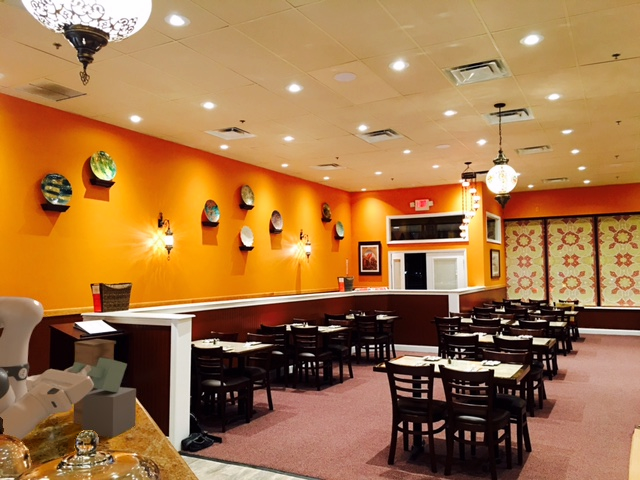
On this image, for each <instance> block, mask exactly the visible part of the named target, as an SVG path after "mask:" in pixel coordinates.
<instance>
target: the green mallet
mask: <svg viewBox="0 0 640 480" xmlns="http://www.w3.org/2000/svg"><path fill="white" fill-rule="evenodd" d="M85 365H86V364H82V363H77V362H75V361H74V362H73V365H72V367H73V368H72V371H71V372H75V373H78V372H81V371H82V367H84V366H85ZM89 366H90V365H89ZM127 366H128V363H125V362H122V361H118V360H115V359H114V360H111V359H105V358H99V360H98V363H97V366H96V367H94V366H90V367H91V371H89V372H88V373H87V375H88V376H93V378H92V381H93V383H94V386H93V388H97V389H102V390H106V391H111V392H116V393H118V390H119V387H121V383H122V380H123V378H124V375H125V371H126V369H127Z"/></svg>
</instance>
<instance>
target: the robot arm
mask: <svg viewBox="0 0 640 480" xmlns="http://www.w3.org/2000/svg"><path fill="white" fill-rule="evenodd" d="M44 312H45V311H44V306H43V304H42V303H41V302H40V301H38V300H35V299H33V298H30V297H23V296H21V297H20V296H0V329H2V328H3V329H2V333H1V336H0V417H1V418H2V419H3V428H4V432H3V434H5V435H10V436H13V437H16V438H18V439H20V441H22V439H24V438H25V437H27V436H28V435H29V434H30V433H31V432H33V430H35V428H36V427H37V426H38V424H40V423H41V422H43V421H44V420H47V418H49V417H51V416H53V415H56V414H63V413H68V412H69V411H71V410H72V409H73V405H74V404H75V403H77V402H78V401H80V400H81V399H82V398H83V397H84V396H85V395H87V394H88V393H89V392H90V391H91V390H92V388H93V386H94V383H93V381H92V380H91V378H90V377H89V376H86V375H87V373H88V372H89V371H91V367H90V366H89V365H85V366H84V367H82V371H81V372H78V373H77V374H75V372H71V371H72V368H73V366H70V367H68V368H66V369H64V370H59V369H53V368H50V369H47V370H45V371H44V372H43V373H41V374H39V375H40V376H39V377H38V378H37V379H36V380H35V381H34V382H33V383H32V386H31V387H30V388H29V389H28V392H27V386H26V378H28V377H29V376H28V374H29V372H30V371H29V370H30V363H29V362H28V356H29V343H30V339H31V335H32V333H33V330H34V329H35V327H36V326H37V325H38V324H39V323H40V322H41V321H42V319H43V317H44ZM50 415H51V416H50Z"/></svg>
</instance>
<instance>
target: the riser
mask: <svg viewBox="0 0 640 480" xmlns="http://www.w3.org/2000/svg"><path fill="white" fill-rule="evenodd" d="M136 403H137V388H132V387H122V386H120V387H119V390H118V393H116V392H111V391H106V390H102V389H97V390H94V391H91V392H89V393H88V394H87V395H85V396H84V397H83V409H82V425H81V432H82V431H83V430H93V431H95V432H96V433H97V434H98V436H97V437H102V438H103V437H104V438H111V439H113V438H115V437H117V436H119V435H121V434H123V433H126V432H128V431H130V430H131V428H132V427H134V426H135V427H136V415H137V414H136V411H137V409H136V408H137V404H136ZM135 427H134V428H135ZM129 429H130V430H129ZM132 429H133V428H132ZM127 430H128V431H127Z"/></svg>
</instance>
